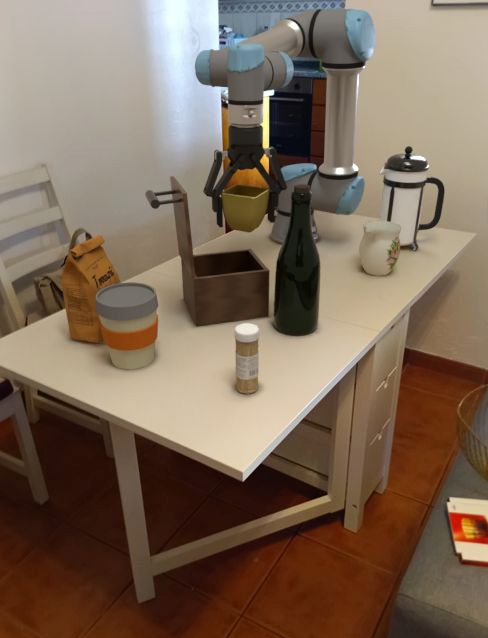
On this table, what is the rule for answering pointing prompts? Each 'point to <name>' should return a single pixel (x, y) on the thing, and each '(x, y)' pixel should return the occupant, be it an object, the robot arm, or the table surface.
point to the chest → (226, 287)
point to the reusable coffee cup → (129, 323)
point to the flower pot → (245, 206)
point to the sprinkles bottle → (247, 357)
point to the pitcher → (380, 247)
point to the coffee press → (407, 195)
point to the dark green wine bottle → (298, 270)
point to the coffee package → (86, 287)
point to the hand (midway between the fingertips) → (245, 223)
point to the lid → (178, 220)
